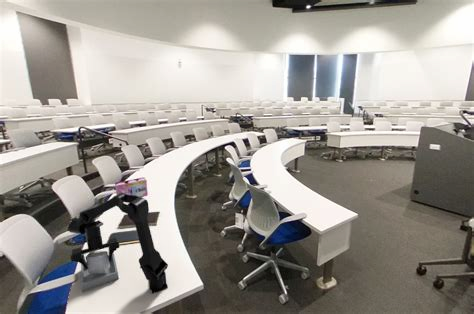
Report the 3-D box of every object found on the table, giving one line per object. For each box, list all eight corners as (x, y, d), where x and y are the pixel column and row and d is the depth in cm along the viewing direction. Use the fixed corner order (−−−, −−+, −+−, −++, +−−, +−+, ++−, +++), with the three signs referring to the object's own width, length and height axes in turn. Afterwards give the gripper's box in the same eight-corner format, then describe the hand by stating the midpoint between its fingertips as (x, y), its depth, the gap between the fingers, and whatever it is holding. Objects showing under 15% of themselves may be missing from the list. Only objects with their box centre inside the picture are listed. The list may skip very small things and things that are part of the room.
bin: (114, 259, 124) (113, 253, 123) (118, 278, 111) (117, 272, 110) (82, 269, 117) (81, 263, 116) (82, 291, 103) (81, 284, 103)
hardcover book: (157, 225, 158) (156, 222, 157) (118, 229, 154) (118, 225, 153) (159, 214, 173) (159, 211, 172) (125, 217, 169) (124, 214, 168)
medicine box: (110, 267, 115) (107, 250, 113) (105, 273, 110) (102, 256, 108) (94, 266, 115) (91, 250, 113) (88, 273, 111) (85, 256, 109)
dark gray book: (146, 227, 152) (142, 241, 137) (146, 230, 152) (142, 244, 138) (111, 231, 148) (103, 245, 133) (111, 234, 148) (103, 248, 134)
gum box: (146, 191, 212) (145, 176, 209) (149, 194, 206) (148, 179, 203) (116, 198, 199) (114, 182, 196) (118, 201, 193) (116, 185, 189)
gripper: (114, 221, 120) (118, 249, 124) (68, 232, 111) (74, 262, 114) (117, 231, 111) (121, 261, 115) (67, 244, 101) (74, 277, 105)
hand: (98, 265), depth 112 cm, fingers closed on medicine box, 9 cm apart
